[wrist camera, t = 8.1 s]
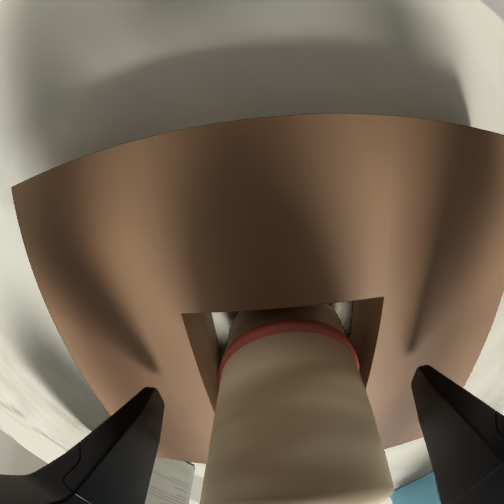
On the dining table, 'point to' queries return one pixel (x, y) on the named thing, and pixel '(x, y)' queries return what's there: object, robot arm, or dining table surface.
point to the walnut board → (271, 253)
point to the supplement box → (170, 482)
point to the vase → (418, 492)
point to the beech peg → (293, 415)
